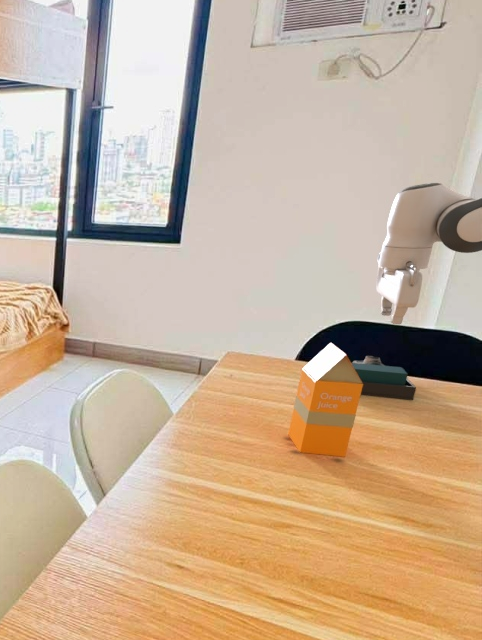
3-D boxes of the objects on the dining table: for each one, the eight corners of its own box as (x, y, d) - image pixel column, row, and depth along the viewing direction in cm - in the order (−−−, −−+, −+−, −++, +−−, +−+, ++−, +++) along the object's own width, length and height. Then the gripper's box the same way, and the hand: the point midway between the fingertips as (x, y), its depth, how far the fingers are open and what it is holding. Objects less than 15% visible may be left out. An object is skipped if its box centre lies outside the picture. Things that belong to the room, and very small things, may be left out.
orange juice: (299, 452, 120) (321, 352, 114) (287, 434, 128) (307, 340, 122) (346, 457, 118) (371, 355, 111) (331, 438, 126) (354, 342, 119)
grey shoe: (375, 379, 159) (379, 363, 158) (347, 367, 169) (350, 352, 167) (395, 379, 159) (399, 363, 158) (365, 367, 169) (368, 352, 168)
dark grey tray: (401, 387, 154) (404, 375, 153) (412, 400, 145) (416, 387, 144) (323, 379, 160) (326, 368, 159) (330, 391, 152) (333, 379, 151)
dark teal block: (396, 386, 152) (401, 367, 151) (402, 394, 148) (407, 373, 146) (337, 381, 157) (342, 361, 155) (341, 387, 152) (346, 368, 151)
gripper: (436, 265, 131) (420, 330, 136) (408, 253, 149) (395, 311, 153) (399, 265, 134) (384, 328, 138) (376, 253, 151) (364, 309, 156)
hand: (390, 319), depth 146 cm, fingers open, 8 cm apart
